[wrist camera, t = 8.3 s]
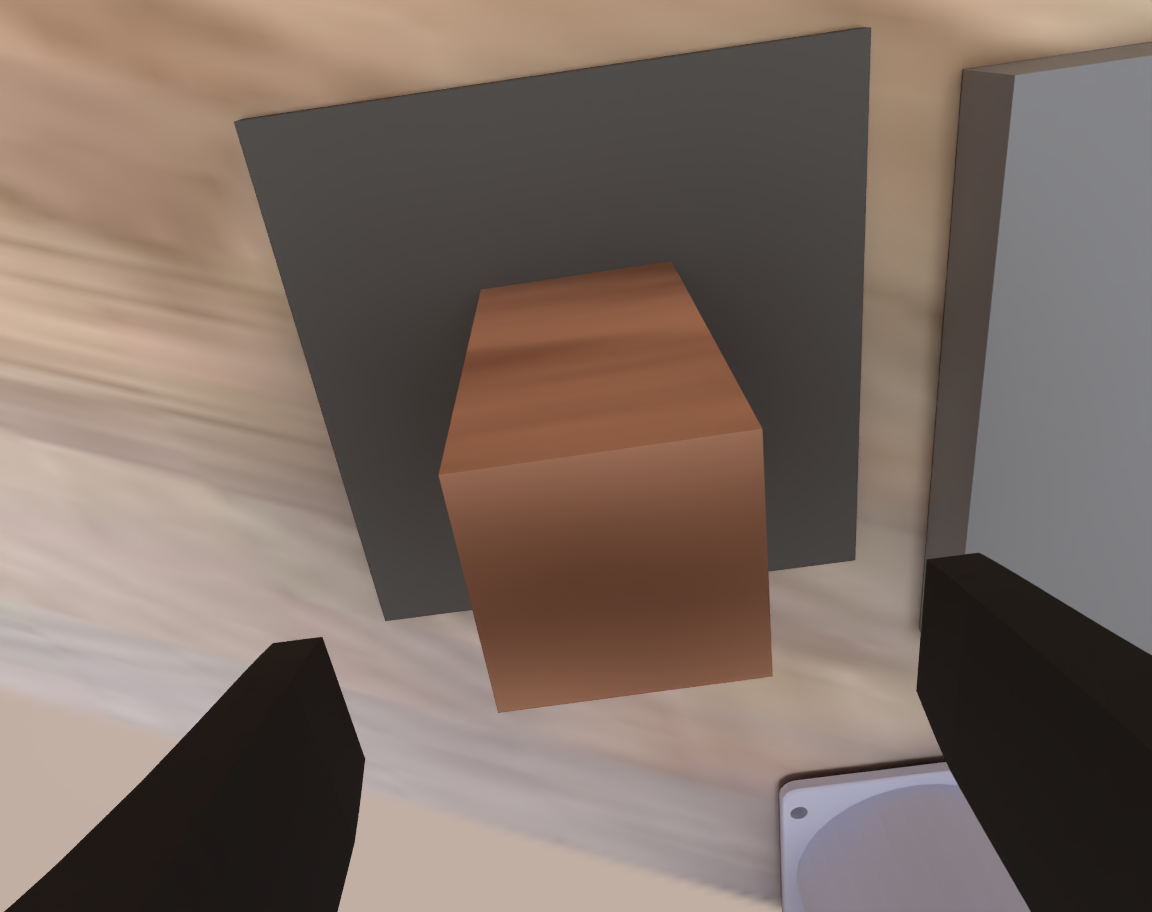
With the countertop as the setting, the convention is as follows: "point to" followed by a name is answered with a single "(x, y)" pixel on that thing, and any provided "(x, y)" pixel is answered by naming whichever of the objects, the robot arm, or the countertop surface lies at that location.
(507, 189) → the mat
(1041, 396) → the holder
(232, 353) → the countertop surface
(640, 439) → the block
